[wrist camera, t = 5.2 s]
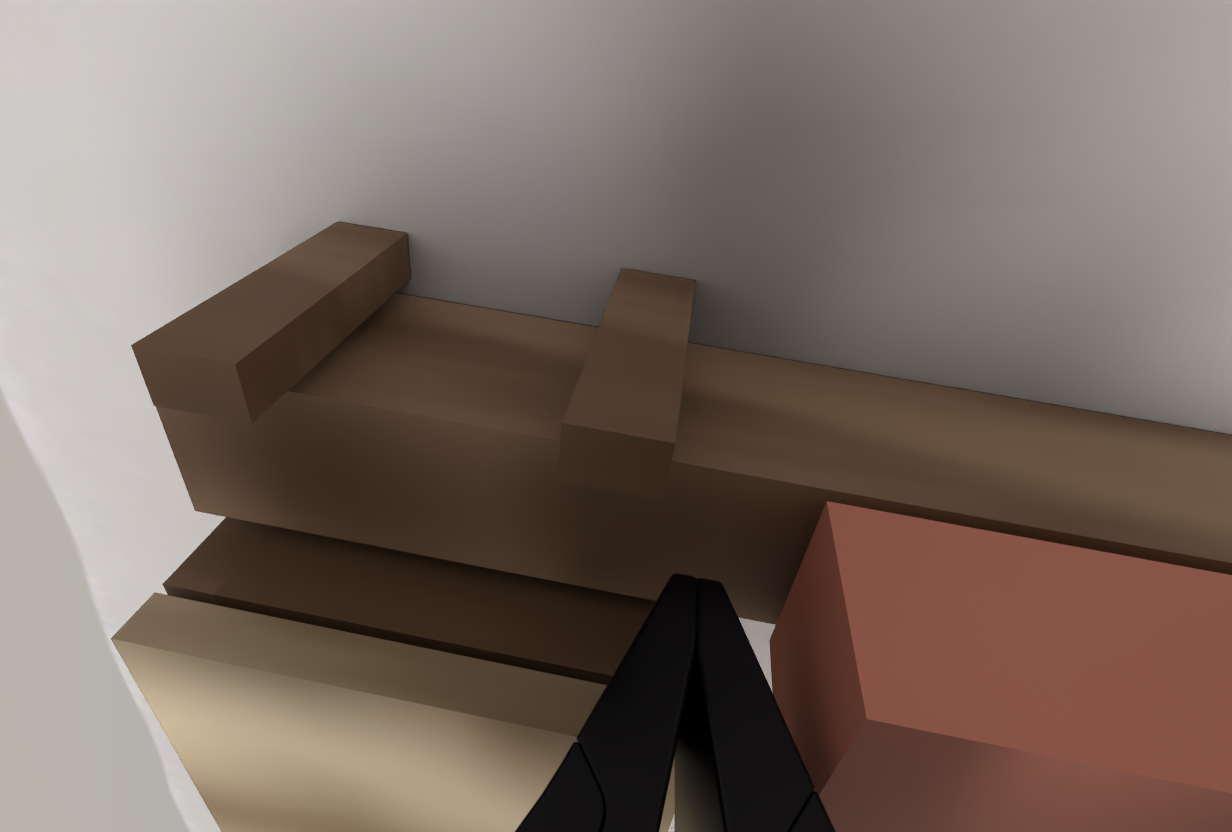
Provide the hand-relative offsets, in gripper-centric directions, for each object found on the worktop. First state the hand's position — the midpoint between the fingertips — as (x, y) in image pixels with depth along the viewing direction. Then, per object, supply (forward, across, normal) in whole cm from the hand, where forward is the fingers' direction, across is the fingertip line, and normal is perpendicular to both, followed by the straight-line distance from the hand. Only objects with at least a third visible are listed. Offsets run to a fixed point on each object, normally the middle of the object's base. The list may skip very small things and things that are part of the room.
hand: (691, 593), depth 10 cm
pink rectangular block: (+1, -6, 0) cm, 6 cm away
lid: (-1, +5, +9) cm, 10 cm away
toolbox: (+5, -1, +7) cm, 8 cm away
